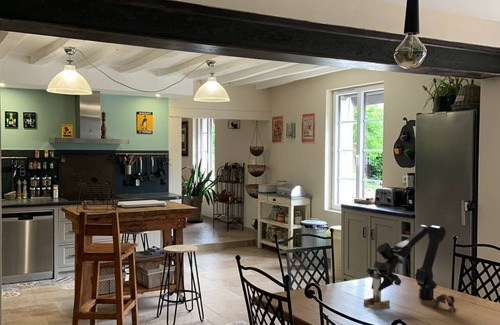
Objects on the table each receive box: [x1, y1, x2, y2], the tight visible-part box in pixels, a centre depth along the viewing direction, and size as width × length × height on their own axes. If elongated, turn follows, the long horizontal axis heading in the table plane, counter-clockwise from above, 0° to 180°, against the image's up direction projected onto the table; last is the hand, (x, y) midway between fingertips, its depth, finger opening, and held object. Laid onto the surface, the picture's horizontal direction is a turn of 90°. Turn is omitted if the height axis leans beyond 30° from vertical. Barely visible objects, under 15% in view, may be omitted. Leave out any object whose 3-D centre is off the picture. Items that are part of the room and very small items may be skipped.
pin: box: [372, 275, 383, 304], centre depth 250 cm, size 4×4×14 cm
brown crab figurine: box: [432, 293, 456, 313], centre depth 248 cm, size 12×10×8 cm
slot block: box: [363, 297, 390, 310], centre depth 250 cm, size 10×8×3 cm
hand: (375, 289), depth 250 cm, fingers closed on pin, 4 cm apart
